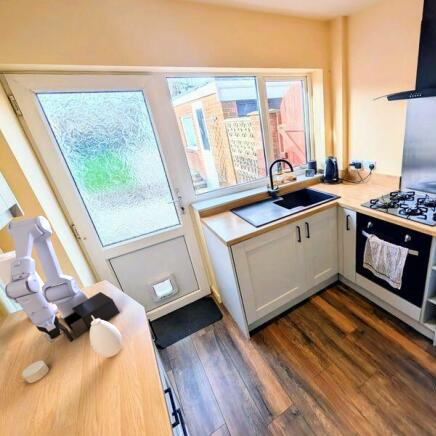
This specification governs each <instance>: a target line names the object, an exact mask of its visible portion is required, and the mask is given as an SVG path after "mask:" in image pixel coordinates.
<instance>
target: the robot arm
mask: <svg viewBox="0 0 436 436" xmlns="http://www.w3.org/2000/svg"><path fill="white" fill-rule="evenodd" d="M6 230H7V233H8V235H9V236H10V238H11V239H13V242H14V251H15V254H16V259H15V260H14V261H12V262H11V274H10V283H9V284H7V285H5V286H4V293H5V296H6V298H8V299H9V300H11V301H13V302H14V304H18V305H19V306H20V308H22V310H23V311H24V313H25V314H26V316H27V317H28V318H29V320H30V321H31V322H32V323H31V324H32V325H33V326H35V328H36V329H37V330H38V331H39V332H41V333H45V334H46V333H47V334H48V335H49V336H51V337H53V338H55V337H57V336H58V335H60V334H61V332H60V330H59V326H58V323H59V322H60V319H59V318H58V316H57V314H59V313H60V314H61V315H60V318H61V319H63V318H65V317H66V316H68V315H70V314H71V313H73V310H72V308H74V307H75V306H77V305H79V304H80V303H82V302H84V301H86V300H87V299H89V298H88V297H87V295H86V293H85V292H84V291H82V289H80V287H79V284H78V283H77V281H76V279H75V278H74V276H71V275H67V274H64V273H63V270H62V267H61V265H60V263H59V260H58V257H57V254H56V251H55V248H54V246H53V244H52V241H51V238H50V237H51V236H53V230H52V227H51V225H50V222H49V220H48V219H47V218H46V217H44V216H42V215H38V216H34V217H30V218H29V217H28V218H25V219H20V220H15V221H9V222H8V223H7V225H6ZM33 247H34V249H35V252H36V255H37V257H38V260H39V263H40V265H41V268H42V270H43V273H44V276H45V279H46V281H44V282H43V283H44V284H43V286H42V287H41V288H42V292H43V293H41V292H40V291H39V289H40V283H39V280H38V277H37V275H35V271H36V259H33V258H32V254H33V253H32V251H33ZM48 303H52V304H55V305H56V306H57V309H56V310H54V311H53V310H52V308H51V307H50V305H49V304H48Z"/></svg>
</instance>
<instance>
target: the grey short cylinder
mask: <svg viewBox="0 0 436 436" xmlns="http://www.w3.org/2000/svg"><path fill="white" fill-rule="evenodd" d="M49 370H50V368H49V366H48V365H47V364H46V362H45V361H44V360H37V361H35V362H33V363H31V364H29V365H28V366H27V367H25V368H24V369H23V371H22V373H21V377H22V378H23V379H24V380H25V381H26V382H27V383H29V384H31V383H35V382H37V381H39V380H41V379H42V378H44V377H45V376H46V375H47V374H48V372H49Z"/></svg>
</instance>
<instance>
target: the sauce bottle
mask: <svg viewBox="0 0 436 436" xmlns="http://www.w3.org/2000/svg"><path fill="white" fill-rule="evenodd" d="M92 318H93V321H92V322H91V328H90V330H89V343H90V345H91V348H92V349H93V351H94V352H95V353H96V354H97V355H98V356H100V357H103V358H111V357H114V356H115V355H117V354H118V353H119V352H120V351H121V349H122V347H123V338H122V337H123V336H122V335H121V332H120V331H119V329H118V328H117V327H116V326H115V325H114V324H112V323H111V322H109V321H104V320H100V319H95V318H94V317H93V316H92Z"/></svg>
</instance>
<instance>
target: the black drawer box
mask: <svg viewBox="0 0 436 436" xmlns="http://www.w3.org/2000/svg"><path fill="white" fill-rule="evenodd" d="M72 310H73V312H76V313H77V314H78V315H80V316H81V317H82V318H83V319H84V321H85V322H86V324H87V325H88V327H89V329H88V330H89V331H90V328H91V322H92V321H93V318H92V316H93V317H94V318H95V319H100V320H104V321H107V322H109V321H110V320H111V319H113V318H114V317H116V316H117V315H119V314H120V310H119V309H118V307H117V305H116V303H115V301H114V299H113V298H112V297H110V296H108V295H106V294H105V293H104V292H101V291H99V292H97V293H96V294H94V295H92V296H91V297H89V298H88V299H87V300H86V301H84V302H82V303H80V304H79V305H77V306H75V307H74V308H72Z"/></svg>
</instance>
